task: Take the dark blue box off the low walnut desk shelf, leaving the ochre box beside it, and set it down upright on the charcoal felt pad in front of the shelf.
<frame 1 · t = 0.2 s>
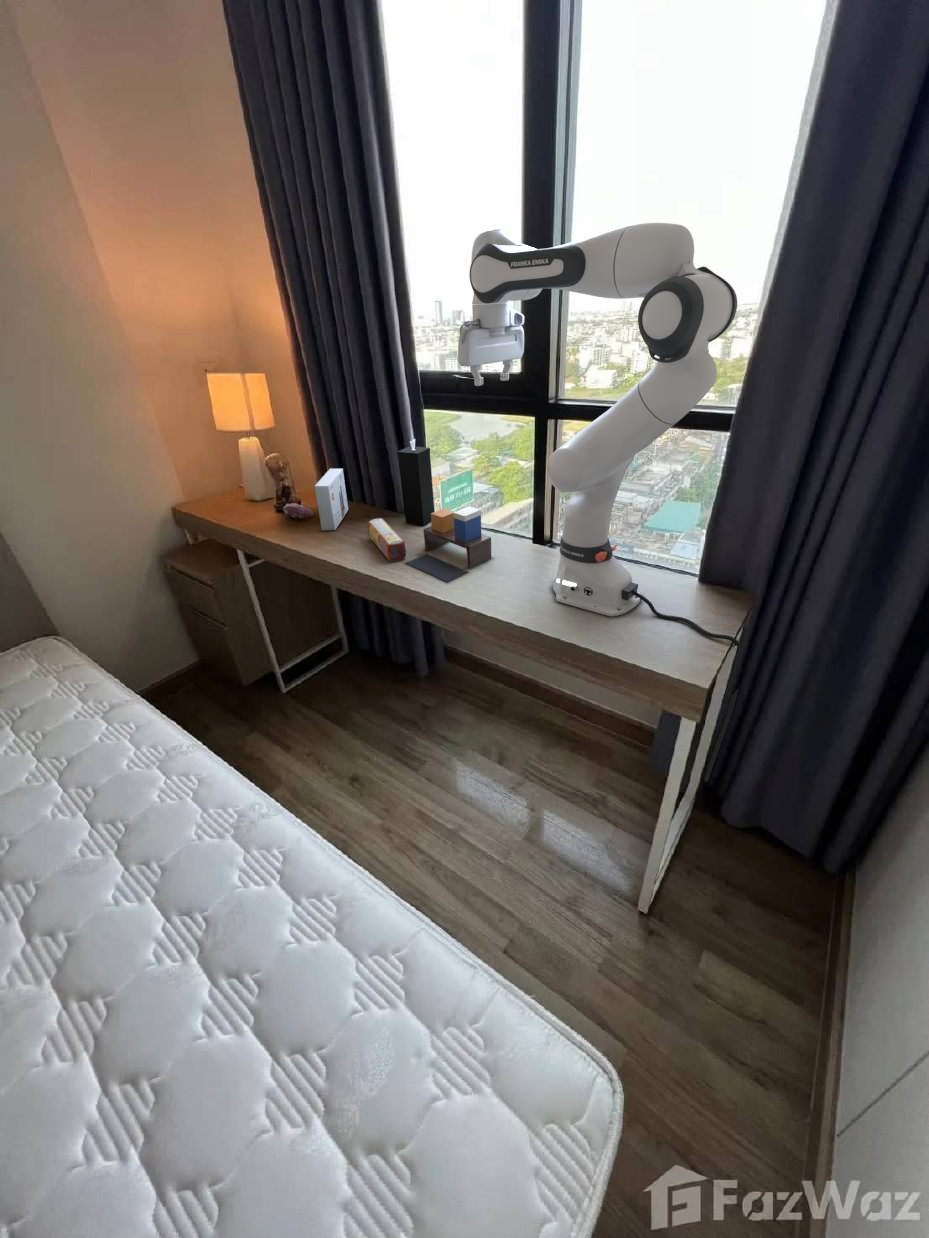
hand: (492, 383, 124), 48 cm above the table, tool pointing down, fingers open, 8 cm apart
felt pad: (436, 568, 145), on the table
snack package: (388, 549, 158), on the table
ochre box: (444, 528, 151), point 7 cm above the table, touching desk shelf
dark blue box: (468, 537, 145), point 7 cm above the table, touching desk shelf
desk shelf: (457, 554, 152), on the table
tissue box: (420, 521, 176), on the table
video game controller: (299, 518, 184), on the table
skincare box: (336, 520, 181), on the table
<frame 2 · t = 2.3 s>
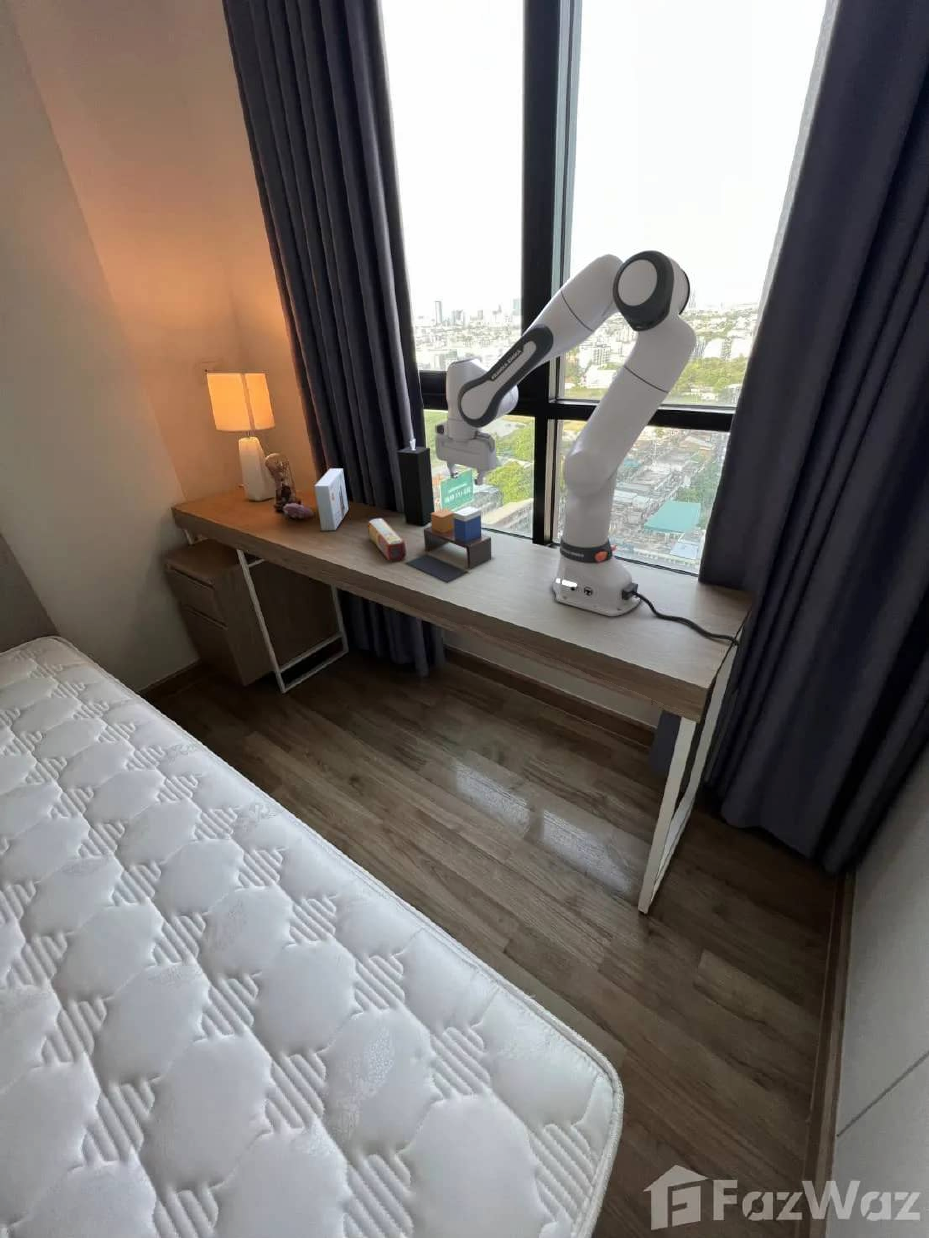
hand: (466, 481, 136), 23 cm above the table, tool pointing down, fingers open, 8 cm apart
nothing on the table moved.
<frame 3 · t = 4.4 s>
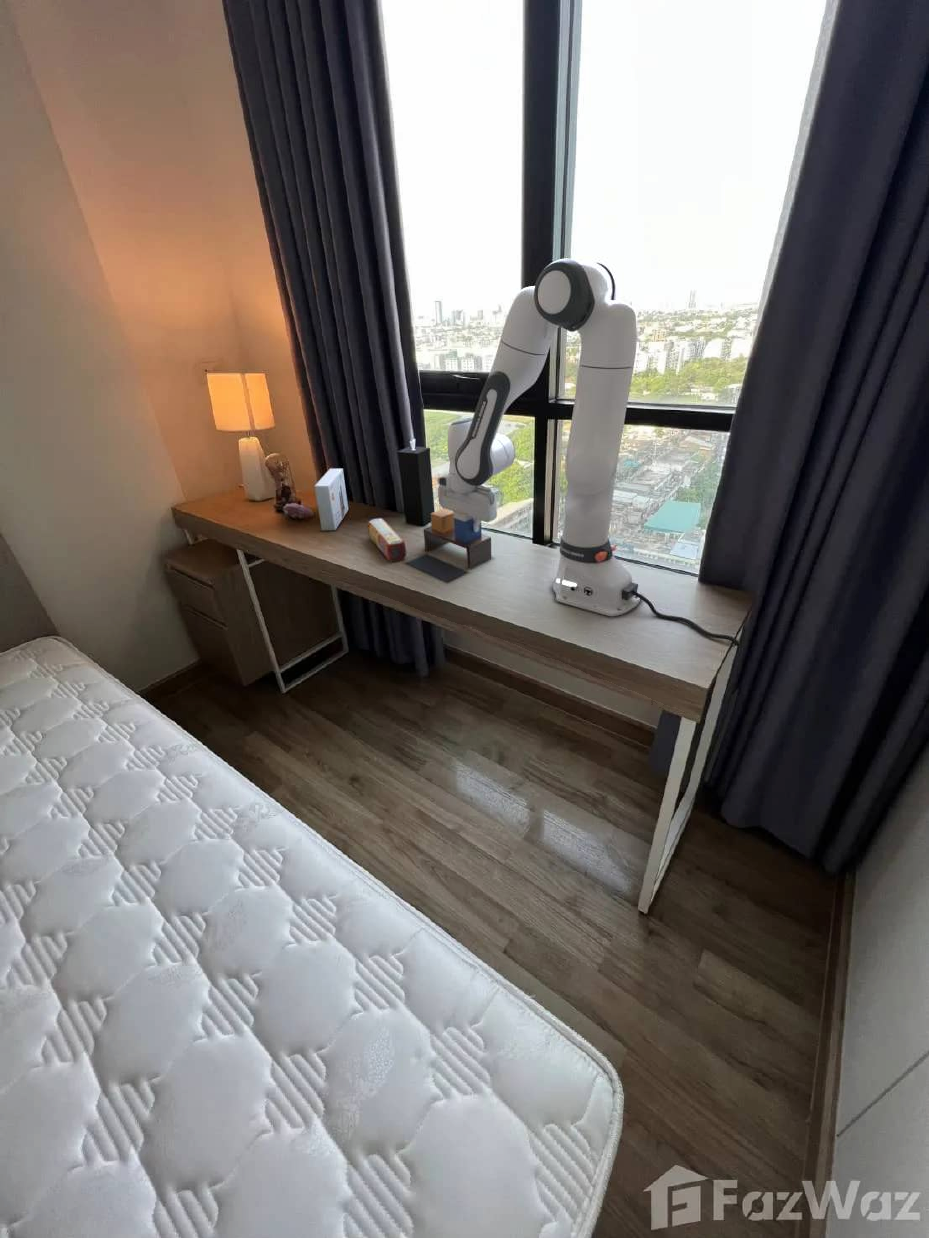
hand: (467, 528, 144), 10 cm above the table, tool pointing down, fingers closed on dark blue box, 4 cm apart
dark blue box: (468, 537, 145), point 7 cm above the table, touching desk shelf, gripper
everything else where it was.
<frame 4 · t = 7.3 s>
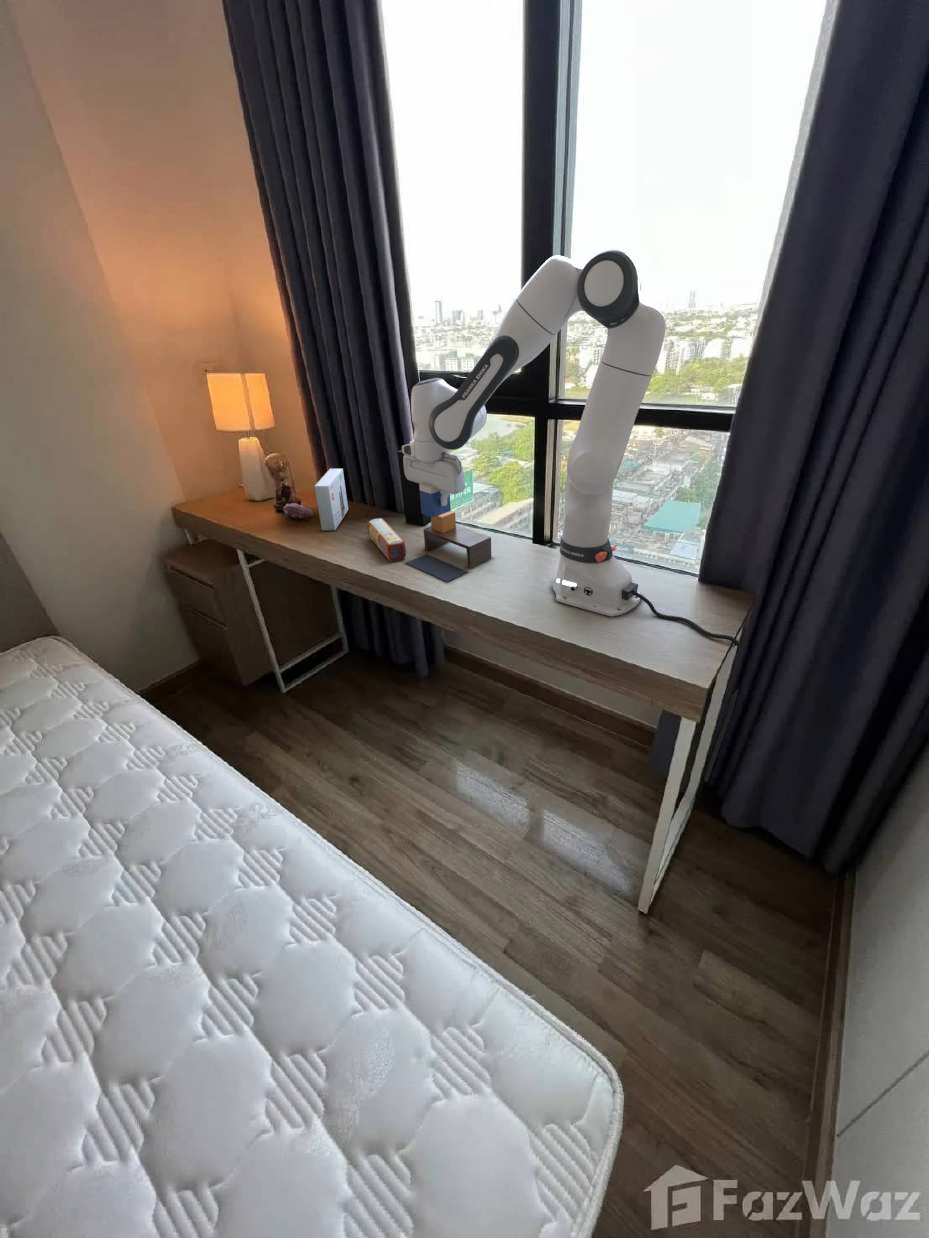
hand: (435, 502, 133), 20 cm above the table, tool pointing down, fingers closed on dark blue box, 4 cm apart
dark blue box: (436, 512, 134), point 17 cm above the table, touching gripper
everything else where it was.
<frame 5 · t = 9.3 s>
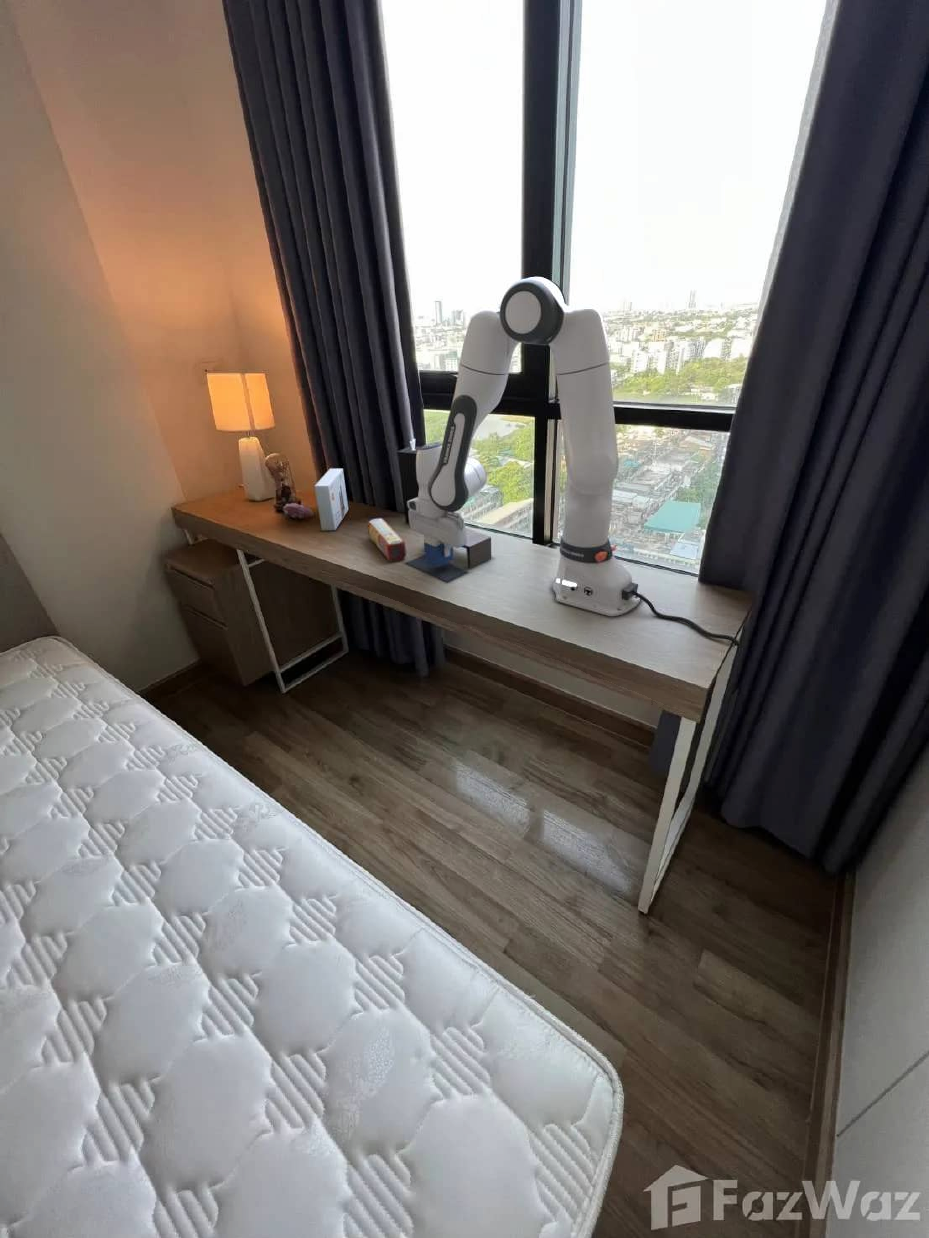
hand: (439, 552, 140), 6 cm above the table, tool pointing down, fingers closed on dark blue box, 4 cm apart
dark blue box: (439, 561, 142), point 3 cm above the table, touching gripper
everything else where it was.
when the fingers open (3 cm above the table, at t = 10.6 s): dark blue box stays where it is, resting on felt pad.
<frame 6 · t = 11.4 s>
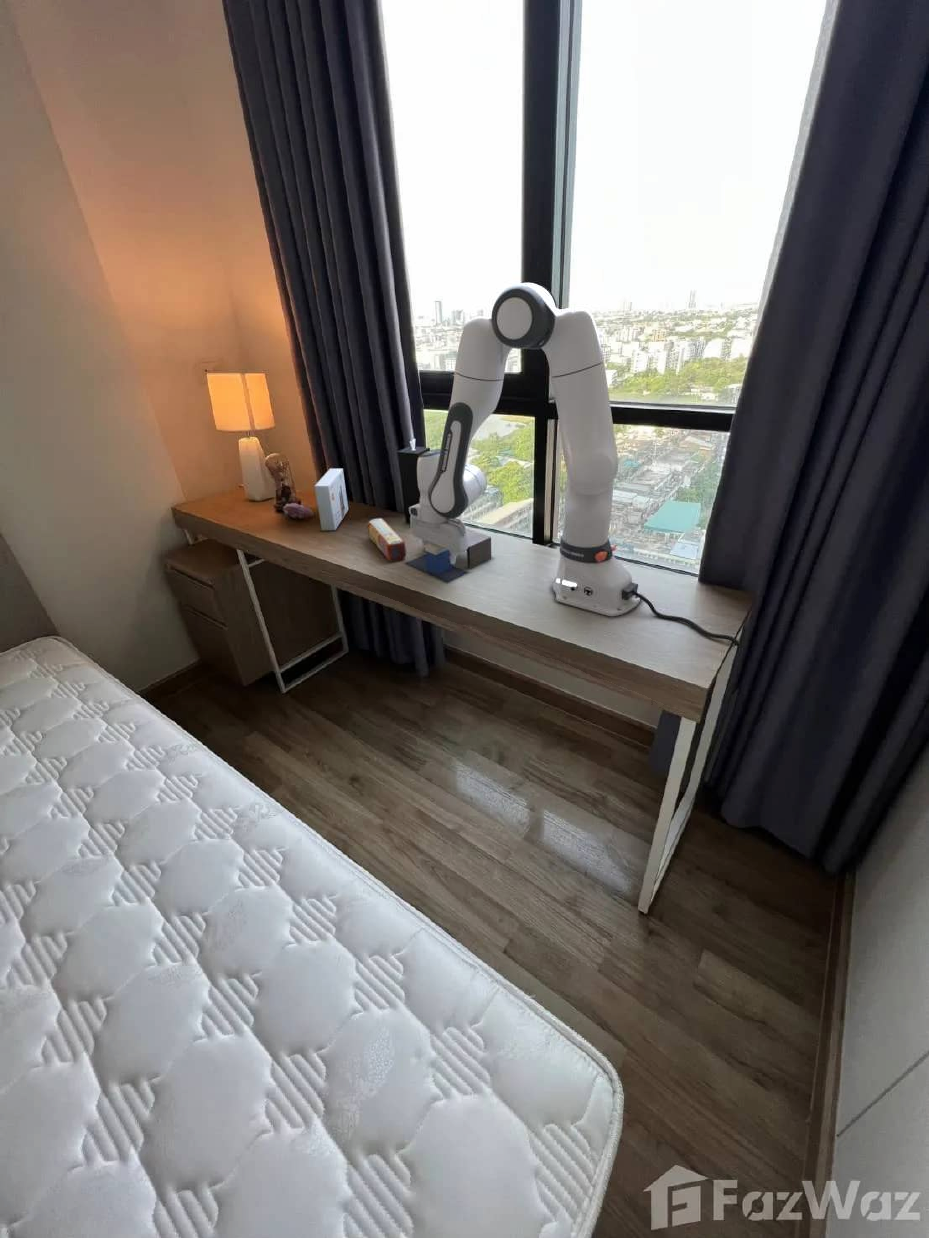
hand: (440, 558, 141), 4 cm above the table, tool pointing down, fingers open, 8 cm apart
dark blue box: (440, 569, 143), resting on felt pad
everything else where it was.
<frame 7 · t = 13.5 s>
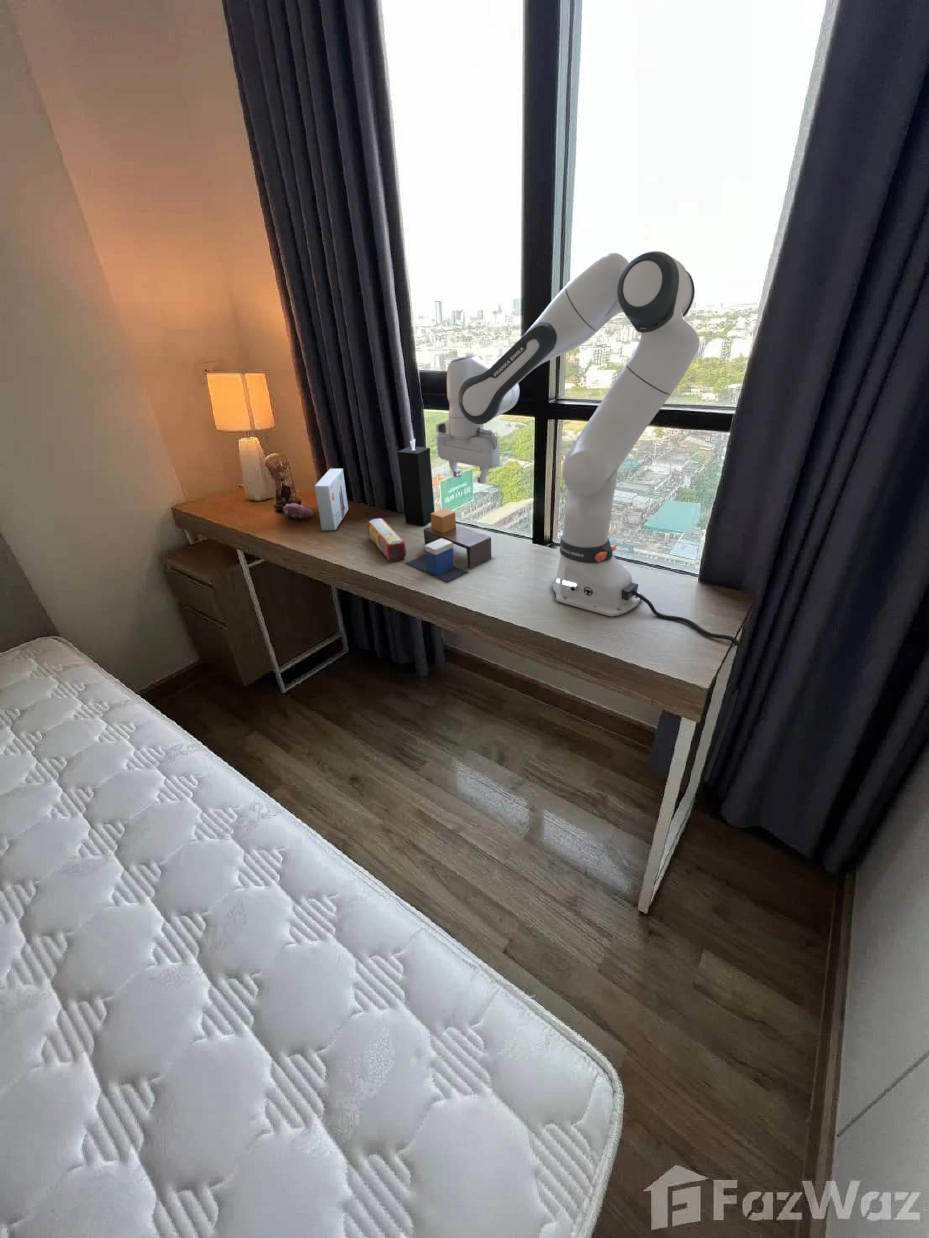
hand: (469, 479, 136), 24 cm above the table, tool pointing down, fingers open, 8 cm apart
nothing on the table moved.
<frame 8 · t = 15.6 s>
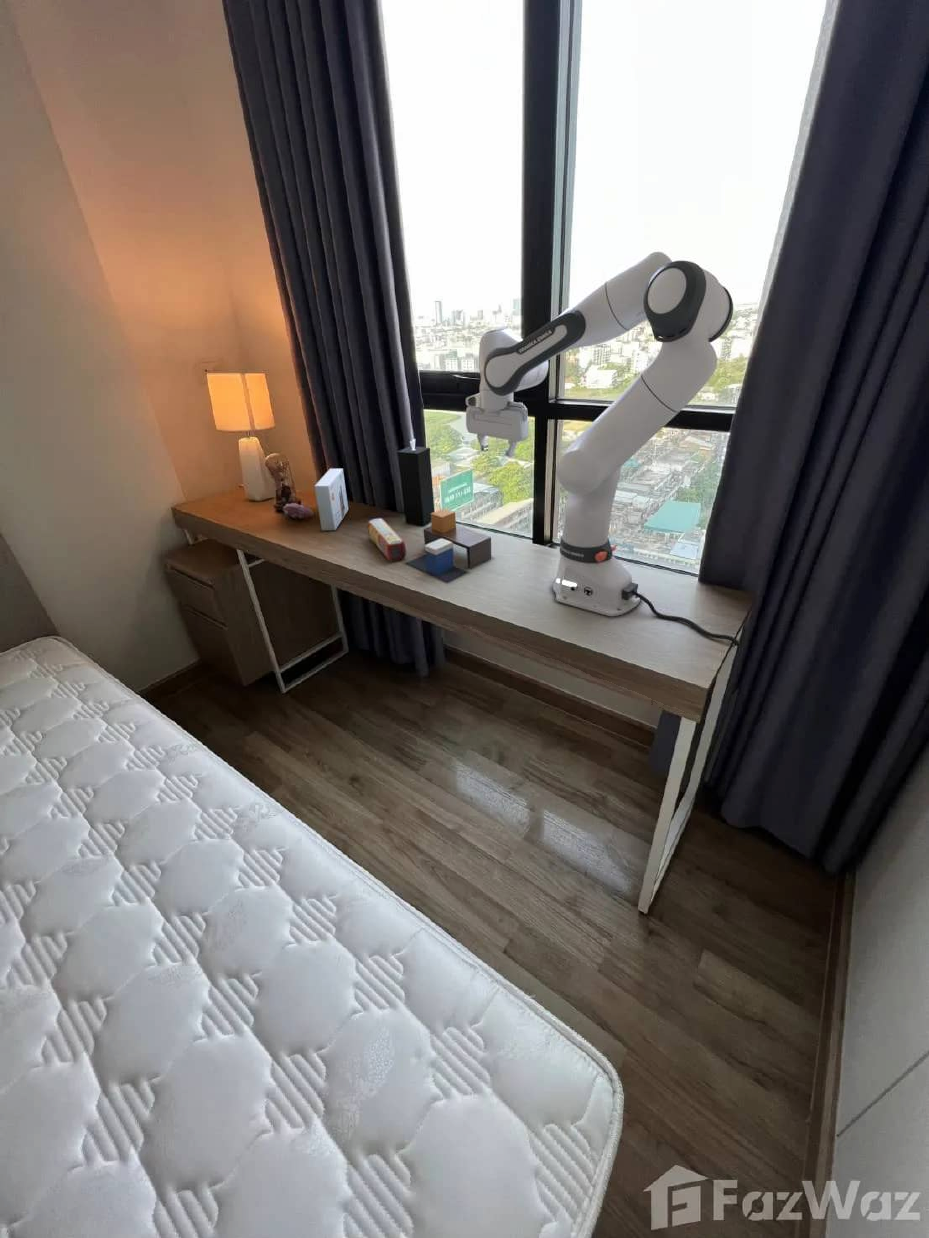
hand: (496, 453, 138), 29 cm above the table, tool pointing down, fingers open, 8 cm apart
nothing on the table moved.
at the end: dark blue box inside the target area (0.1 cm from its centre), resting on felt pad; dark blue box tilted 0°; ochre box moved 0.1 cm from its start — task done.
